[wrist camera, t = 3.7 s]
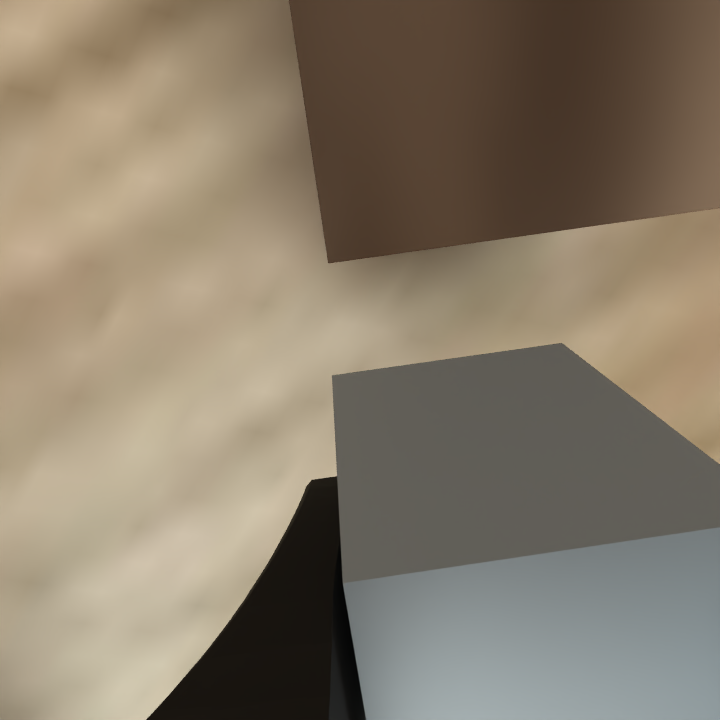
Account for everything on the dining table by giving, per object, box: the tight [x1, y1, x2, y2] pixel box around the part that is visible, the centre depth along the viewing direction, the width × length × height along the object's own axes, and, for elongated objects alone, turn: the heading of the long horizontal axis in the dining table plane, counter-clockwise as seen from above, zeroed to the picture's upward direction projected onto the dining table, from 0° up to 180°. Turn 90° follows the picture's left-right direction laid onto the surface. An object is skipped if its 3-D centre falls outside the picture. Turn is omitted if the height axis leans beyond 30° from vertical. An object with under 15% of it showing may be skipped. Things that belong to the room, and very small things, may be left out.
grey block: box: [332, 343, 720, 720], centre depth 9 cm, size 4×4×6 cm
